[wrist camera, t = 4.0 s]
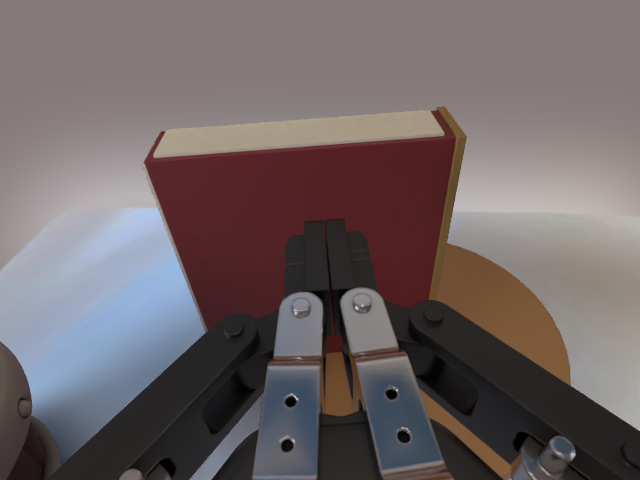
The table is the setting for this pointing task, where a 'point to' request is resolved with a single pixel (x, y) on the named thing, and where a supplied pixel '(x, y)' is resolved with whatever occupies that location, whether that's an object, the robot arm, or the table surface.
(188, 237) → the book
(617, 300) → the table surface
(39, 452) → the flowerpot
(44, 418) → the table surface
